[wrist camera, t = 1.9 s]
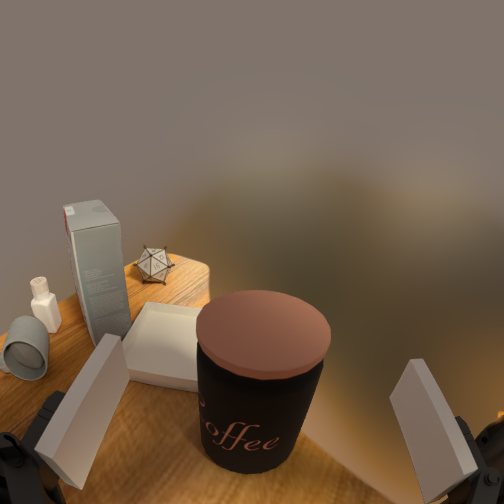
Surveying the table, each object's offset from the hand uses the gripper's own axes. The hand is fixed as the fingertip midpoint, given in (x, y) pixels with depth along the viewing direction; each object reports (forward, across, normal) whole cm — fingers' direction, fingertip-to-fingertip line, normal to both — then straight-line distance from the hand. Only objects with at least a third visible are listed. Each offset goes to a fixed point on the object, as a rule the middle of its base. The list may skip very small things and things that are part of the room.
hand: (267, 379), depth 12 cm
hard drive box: (+30, -27, -22) cm, 46 cm away
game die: (+46, -22, -22) cm, 55 cm away
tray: (+25, -10, -22) cm, 35 cm away
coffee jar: (+10, 0, -22) cm, 24 cm away
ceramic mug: (+14, -34, -23) cm, 43 cm away
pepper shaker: (+24, -36, -22) cm, 48 cm away
